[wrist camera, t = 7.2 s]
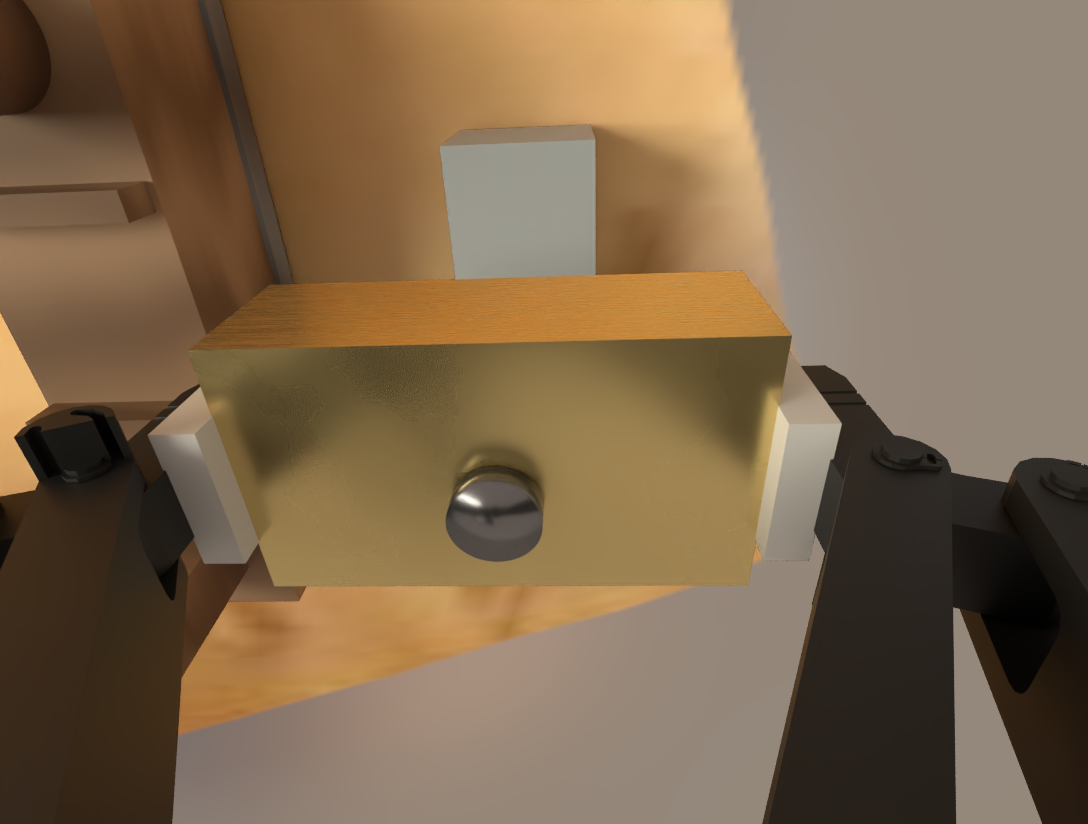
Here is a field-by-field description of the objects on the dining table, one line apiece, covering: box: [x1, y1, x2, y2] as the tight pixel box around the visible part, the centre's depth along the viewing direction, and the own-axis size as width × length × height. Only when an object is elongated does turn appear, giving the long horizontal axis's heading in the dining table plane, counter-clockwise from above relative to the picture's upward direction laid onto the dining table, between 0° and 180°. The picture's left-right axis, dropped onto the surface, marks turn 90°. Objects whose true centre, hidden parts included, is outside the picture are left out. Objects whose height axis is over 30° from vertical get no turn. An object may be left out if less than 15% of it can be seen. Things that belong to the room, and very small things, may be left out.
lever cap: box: [187, 271, 792, 586], centre depth 11 cm, size 5×9×4 cm, turn 92°
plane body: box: [0, 0, 306, 678], centre depth 18 cm, size 24×6×13 cm, turn 2°
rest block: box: [439, 124, 596, 279], centre depth 21 cm, size 4×8×4 cm, turn 2°
